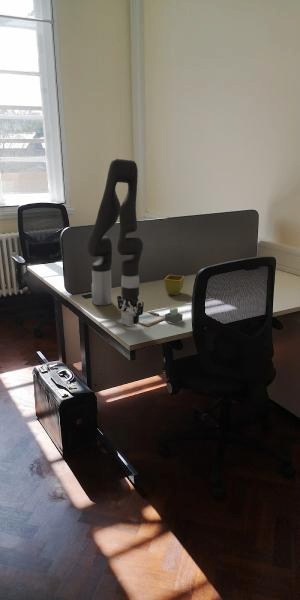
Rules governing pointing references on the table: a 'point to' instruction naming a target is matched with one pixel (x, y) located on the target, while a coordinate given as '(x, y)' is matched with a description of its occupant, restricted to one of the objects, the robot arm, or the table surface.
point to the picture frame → (150, 318)
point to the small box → (128, 318)
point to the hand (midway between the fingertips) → (130, 321)
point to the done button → (173, 312)
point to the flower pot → (174, 284)
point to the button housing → (173, 318)
